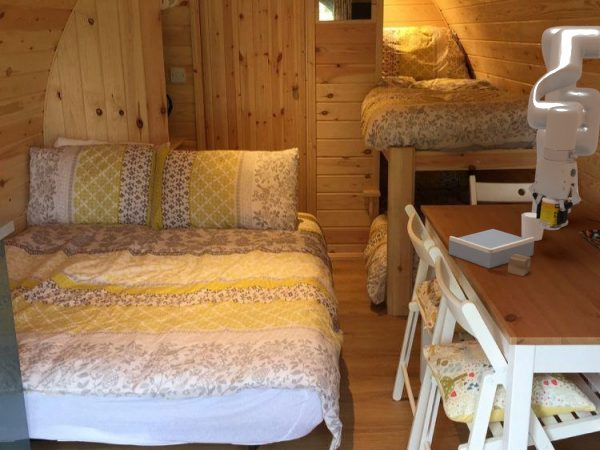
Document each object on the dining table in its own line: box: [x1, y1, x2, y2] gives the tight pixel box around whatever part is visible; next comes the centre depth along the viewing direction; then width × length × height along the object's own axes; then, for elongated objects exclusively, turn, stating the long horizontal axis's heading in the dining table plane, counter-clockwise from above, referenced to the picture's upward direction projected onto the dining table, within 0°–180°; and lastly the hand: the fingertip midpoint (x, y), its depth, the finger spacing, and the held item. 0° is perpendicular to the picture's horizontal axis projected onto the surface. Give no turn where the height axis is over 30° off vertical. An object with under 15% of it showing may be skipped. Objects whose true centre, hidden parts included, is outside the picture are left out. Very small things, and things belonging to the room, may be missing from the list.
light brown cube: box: [507, 254, 532, 277], centre depth 162 cm, size 4×4×4 cm
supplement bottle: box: [539, 196, 562, 231], centre depth 171 cm, size 6×6×10 cm
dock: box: [448, 228, 535, 269], centre depth 175 cm, size 18×14×5 cm
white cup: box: [521, 211, 545, 242], centre depth 189 cm, size 7×7×7 cm
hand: (550, 220), depth 172 cm, fingers closed on supplement bottle, 5 cm apart
